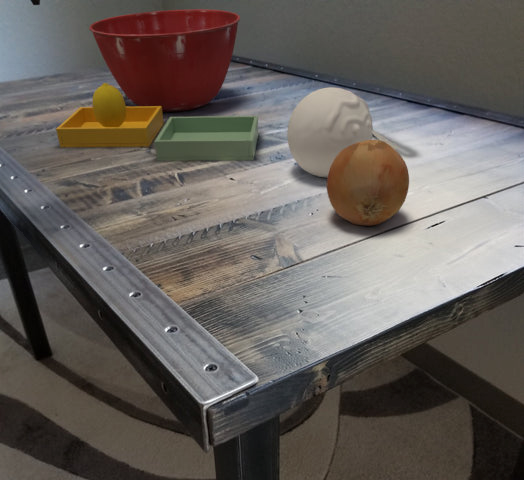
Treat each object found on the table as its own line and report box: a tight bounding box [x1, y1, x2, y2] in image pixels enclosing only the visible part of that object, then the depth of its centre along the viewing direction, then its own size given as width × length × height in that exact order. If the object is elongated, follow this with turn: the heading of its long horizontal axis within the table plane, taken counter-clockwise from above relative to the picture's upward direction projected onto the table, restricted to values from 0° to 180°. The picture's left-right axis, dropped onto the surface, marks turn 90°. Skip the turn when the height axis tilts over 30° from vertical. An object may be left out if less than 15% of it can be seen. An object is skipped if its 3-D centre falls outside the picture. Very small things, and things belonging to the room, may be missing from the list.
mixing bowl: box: [88, 8, 241, 113], centre depth 115 cm, size 28×28×15 cm
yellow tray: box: [55, 105, 165, 148], centre depth 102 cm, size 15×13×4 cm
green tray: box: [154, 115, 259, 162], centre depth 95 cm, size 15×13×4 cm
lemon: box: [92, 82, 127, 127], centre depth 100 cm, size 6×6×8 cm
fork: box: [372, 129, 400, 150], centre depth 99 cm, size 3×24×2 cm, turn 21°
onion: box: [326, 139, 410, 227], centre depth 70 cm, size 10×10×10 cm
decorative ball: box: [286, 86, 374, 179], centre depth 82 cm, size 12×12×12 cm
